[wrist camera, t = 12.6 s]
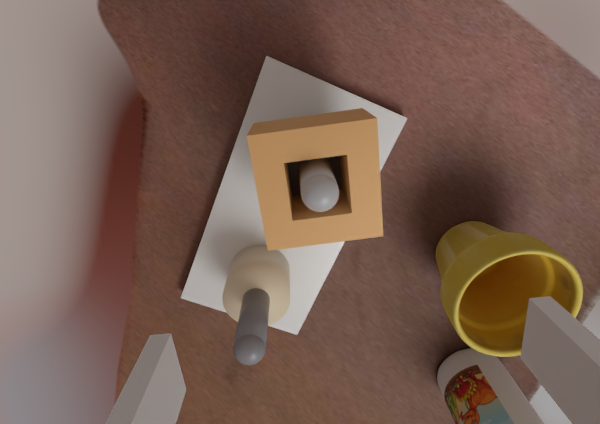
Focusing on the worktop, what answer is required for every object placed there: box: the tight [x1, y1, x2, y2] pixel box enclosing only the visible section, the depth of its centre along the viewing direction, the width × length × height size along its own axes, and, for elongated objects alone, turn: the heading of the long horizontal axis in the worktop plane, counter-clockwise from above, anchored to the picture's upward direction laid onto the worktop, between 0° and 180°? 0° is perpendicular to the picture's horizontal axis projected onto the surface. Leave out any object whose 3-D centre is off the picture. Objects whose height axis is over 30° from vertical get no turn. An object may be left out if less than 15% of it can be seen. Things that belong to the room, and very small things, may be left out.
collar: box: [247, 108, 383, 251], centre depth 27 cm, size 8×8×5 cm
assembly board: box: [181, 56, 407, 365], centre depth 31 cm, size 25×13×13 cm, turn 157°
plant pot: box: [435, 221, 583, 357], centre depth 34 cm, size 10×10×10 cm
